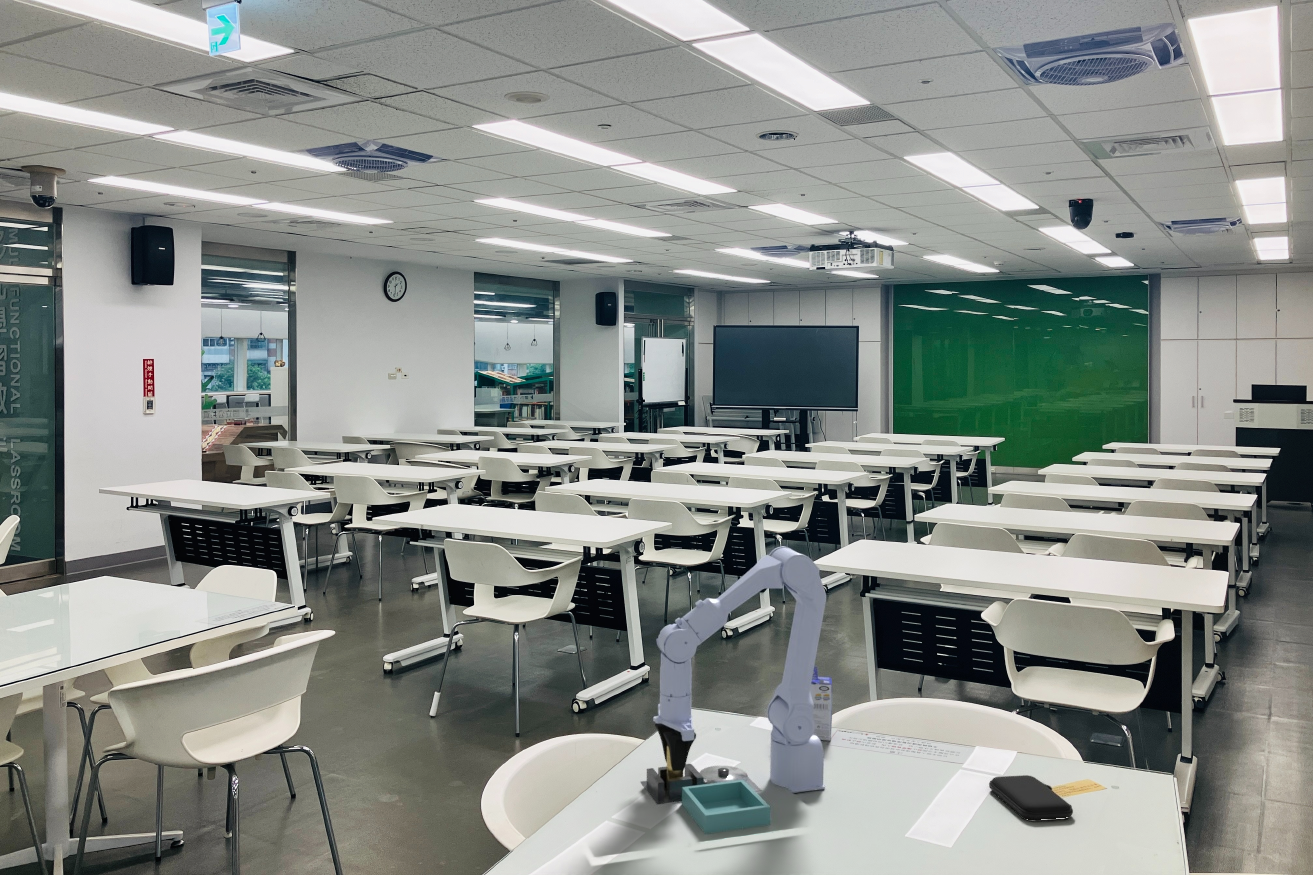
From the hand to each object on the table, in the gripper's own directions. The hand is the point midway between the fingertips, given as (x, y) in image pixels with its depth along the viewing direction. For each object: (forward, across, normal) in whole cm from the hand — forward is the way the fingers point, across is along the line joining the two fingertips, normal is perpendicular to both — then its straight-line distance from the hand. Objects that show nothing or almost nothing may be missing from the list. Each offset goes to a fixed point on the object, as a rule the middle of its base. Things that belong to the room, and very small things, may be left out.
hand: (674, 765), depth 174 cm
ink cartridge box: (+6, -20, +37) cm, 42 cm away
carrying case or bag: (+6, +22, +60) cm, 64 cm away
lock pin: (+4, 0, 0) cm, 4 cm away
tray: (+5, +12, +5) cm, 14 cm away
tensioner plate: (+5, 0, +5) cm, 7 cm away
